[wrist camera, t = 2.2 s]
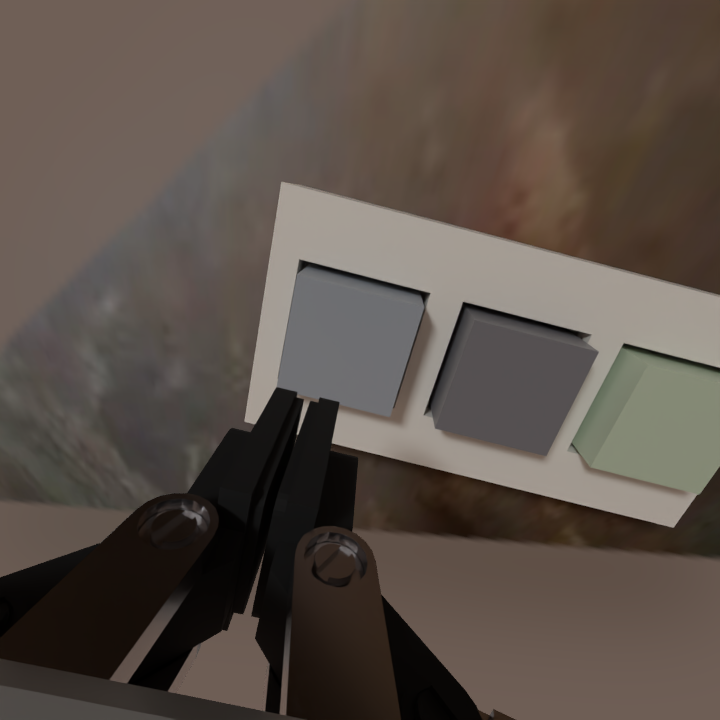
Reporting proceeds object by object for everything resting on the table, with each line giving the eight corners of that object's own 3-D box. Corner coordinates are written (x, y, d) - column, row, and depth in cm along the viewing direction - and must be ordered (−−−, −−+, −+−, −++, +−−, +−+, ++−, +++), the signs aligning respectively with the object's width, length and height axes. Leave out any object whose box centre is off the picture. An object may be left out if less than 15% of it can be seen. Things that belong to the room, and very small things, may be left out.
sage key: (712, 366, 19) (769, 395, 16) (657, 454, 20) (699, 494, 18) (609, 339, 18) (648, 364, 16) (562, 430, 20) (590, 467, 18)
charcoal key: (567, 329, 18) (599, 351, 16) (524, 421, 20) (546, 456, 17) (461, 301, 18) (474, 319, 15) (428, 397, 20) (434, 428, 17)
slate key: (419, 290, 18) (424, 306, 15) (389, 387, 20) (389, 417, 17) (311, 262, 18) (297, 274, 15) (292, 362, 20) (276, 388, 17)
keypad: (738, 300, 20) (818, 323, 16) (629, 476, 24) (673, 527, 20) (302, 185, 19) (281, 181, 16) (267, 386, 23) (244, 421, 20)
